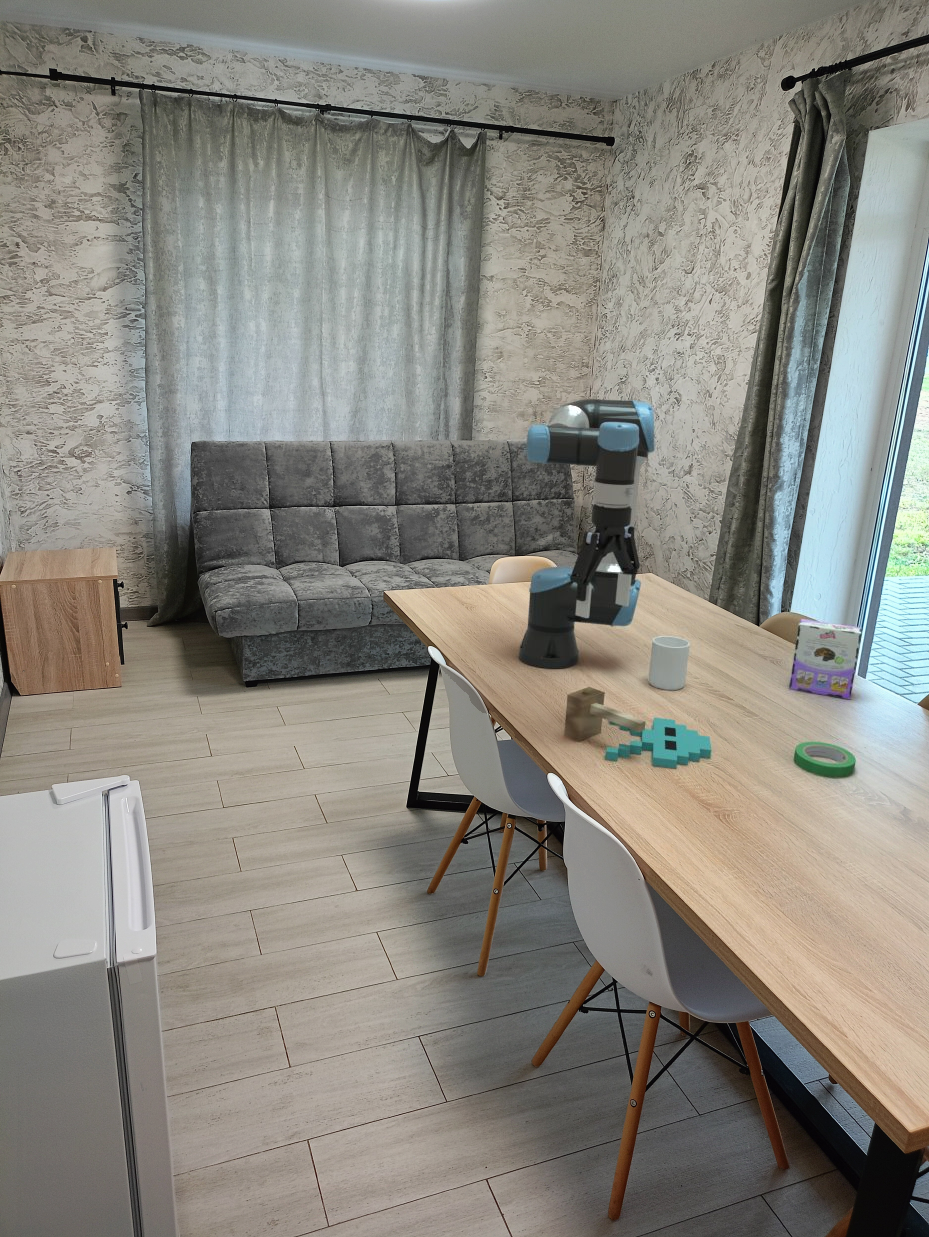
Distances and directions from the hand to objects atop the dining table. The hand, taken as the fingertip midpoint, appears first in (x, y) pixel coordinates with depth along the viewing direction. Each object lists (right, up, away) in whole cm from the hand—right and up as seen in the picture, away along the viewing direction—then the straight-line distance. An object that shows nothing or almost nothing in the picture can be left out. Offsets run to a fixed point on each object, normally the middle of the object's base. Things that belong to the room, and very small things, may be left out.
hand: (602, 610), depth 180 cm
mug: (+20, -17, +37) cm, 45 cm away
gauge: (+1, -27, +1) cm, 27 cm away
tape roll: (+42, -31, -4) cm, 52 cm away
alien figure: (+11, -28, +2) cm, 30 cm away
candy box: (+57, -19, +35) cm, 70 cm away
